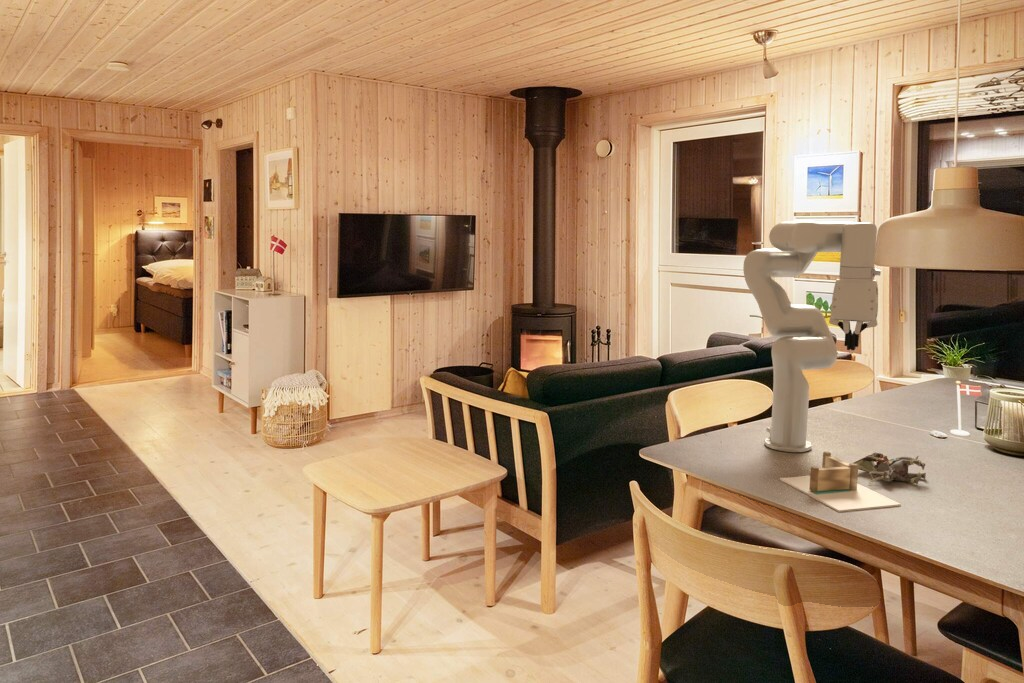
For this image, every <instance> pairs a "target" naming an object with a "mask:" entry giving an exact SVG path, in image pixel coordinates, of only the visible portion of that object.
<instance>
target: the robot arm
mask: <svg viewBox="0 0 1024 683" xmlns="http://www.w3.org/2000/svg"><path fill="white" fill-rule="evenodd" d="M877 228H878V227H877V225H876V224H875V223H873V222H863V221H861V222H859V221H858V222H856V221H855V222H854V221H814V220H791V221H790V220H786V221H782V222H779V223H777V224H776V225H774V226H773V227H772V228H771V229H770V232H769V236H768V238H769V243H770V244H771V246H772V248H760V249H754V250H751V251H750V252H748V253H747V255H746V256H745V258H744V260H743V277H744V280H745V283H746V285H747V288H748V289H749V291H750V292H751V294H752V295H753V297H754V300H756V303H757V305H758V308H759V311H760V313H761V316H762V318H763V321H764V324H765V326H766V329H767V331H768V333H769V335H771V336H772V337H773V338H777V339H776V340H775V341H774V342H773V344H772V346H771V360H772V368H773V370H772V371H773V382H772V384H773V385H772V386H773V387H772V391H773V392H772V408H771V421H770V423H771V424H770V425H771V426H770V427H769V426H768V427H767V428H765V429H766V432H767V433H769V437H767V438H765V439H764V446H766V447H767V448H770V449H772V450H775V451H781V452H785V453H786V452H788V453H804V452H808V451H811V450H812V447H813V445H812V443H811V442H810V441H808V440H807V435H808V434H807V433H808V418H809V417H808V416H809V403H810V402H809V400H810V399H809V398H810V384H809V381H808V379H807V378H806V376H805V375H804V373H803V371H809V370H825V369H829V368H832V367H833V366H834V365H835V364H836V362H837V360H838V350H837V345H836V342H835V340H834V337H833V335H832V333H831V331H830V328H829V326H828V324H830V325H833V326H836V327H839V328H840V329H841V330H842V331H843V333H844V343H843V344H844V347H846V350H847V351H850V350H851V351H855V350H856V348H859V342H860V341H859V340H860V334H861V332H863V331H864V330H865V329H868V328H874V327H877V326H878V320H877V317H878V312H879V311H878V310H879V287H878V285H879V284H878V281H877V280H875V279H874V278H875V277H877V276H881V270H880V269H877V268H875V262H876V261H875V260H876V249H877V248H876V246H877V234H878V233H877V232H878V229H877ZM818 253H840V260H839V274H838V276H839V277H838V278H837V279H836V280H835V282H834V287H833V291H832V298H831V304H830V318H829V320H828V321H829V322H828V323H827V321H826V319H825V317H824V315H823V313H822V311H821V310H820V309H819V308H818V307H816V306H814V305H812V304H795V303H792V302H791V300H790V298H789V296H788V293H787V292H786V290H785V289H784V288H783V287H782V285H781V284H779V283H778V282H776V281H775V280H774V279H773V278H795V277H796V278H797V277H800V276H801V275H803V274H804V273H805V272H806V270H807V269H808V267H809V266H810V264H811V263H812V262H813V260H814V259H815V258H816V256H817V254H818ZM851 322H856V323H855V327H854V330H853V332H852V330H851Z"/></svg>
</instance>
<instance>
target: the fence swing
mask: <svg viewBox="0 0 1024 683" xmlns="http://www.w3.org/2000/svg"><path fill="white" fill-rule="evenodd" d="M850 470H851V468H849V467H847V466H846V467H829V468H822V467H818V466H810V470H809V471H810V472H809V473H810V474H809V476H810V487H809V490H810V491H825V490H841V489H849V484H850Z"/></svg>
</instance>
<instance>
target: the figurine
mask: <svg viewBox="0 0 1024 683" xmlns="http://www.w3.org/2000/svg"><path fill="white" fill-rule="evenodd" d="M919 456H920V455H917V456H916V457H915V458H914V457H911V456H906V455H905V456H898V457H893V458H892V459H889V458H888V456H887V455H884V454H883V453H881V452H873V453H872V454H869V455H867V456H864V457H863V458H859V459H858V460H856V461H854V462H853V463H854V464H858V465H859V466H858V471H859V470H860V471H862V472H865V473H867V474H869V475H871V478H872V479H871V480H870V481H869V482H868V485H871V484H873V483H874V482H875V481H879V480H882V481H884V482H886V483H893V481H898V482H906V483H911V484H913V485H914V484H915V485H916V486H917V485H918V484H919V482H920V479H921V478H922V479H924V480H926V476H927V475H926V472H923V473H922V472H909V466H913V465H916V466H918V467H921V469H922V470H923V471H924V470H925V466H926V463H924V462H922V460H920V459H919ZM875 463H876V464H875ZM873 475H875V476H876V477H875V478H874V477H873Z"/></svg>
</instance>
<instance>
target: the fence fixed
mask: <svg viewBox="0 0 1024 683" xmlns="http://www.w3.org/2000/svg"><path fill="white" fill-rule="evenodd" d="M821 463H822V464H821V468H829V467H846V466H847V467H849V468H851V470H850V484H849V490H852V491H856V490H857V483H858V480H859V469H858V466H859V465H858V464H854V462H851V463H849V462H846V461H844V460H842V459H840V458H838V457H835V456H833V455H832V452H830V451H823V452H822V462H821Z"/></svg>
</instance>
